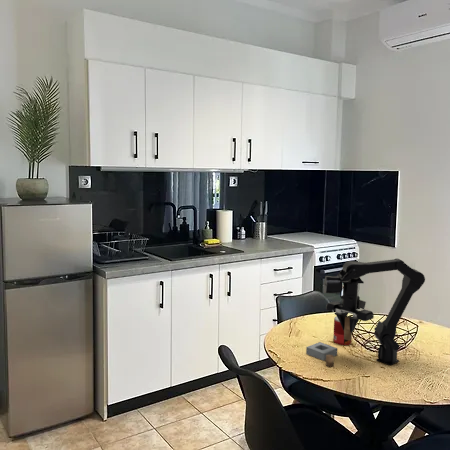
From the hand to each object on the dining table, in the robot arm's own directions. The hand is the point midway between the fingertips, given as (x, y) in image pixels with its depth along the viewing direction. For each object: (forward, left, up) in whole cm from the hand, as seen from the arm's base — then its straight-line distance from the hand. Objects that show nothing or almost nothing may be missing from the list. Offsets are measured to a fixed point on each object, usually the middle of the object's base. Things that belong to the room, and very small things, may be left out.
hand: (348, 331), depth 189 cm
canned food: (+13, -16, -12) cm, 24 cm away
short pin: (+1, +9, -12) cm, 15 cm away
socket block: (+10, +3, -12) cm, 16 cm away
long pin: (0, 0, -3) cm, 3 cm away
